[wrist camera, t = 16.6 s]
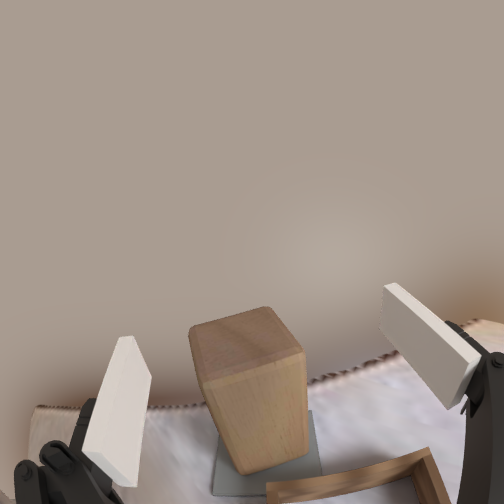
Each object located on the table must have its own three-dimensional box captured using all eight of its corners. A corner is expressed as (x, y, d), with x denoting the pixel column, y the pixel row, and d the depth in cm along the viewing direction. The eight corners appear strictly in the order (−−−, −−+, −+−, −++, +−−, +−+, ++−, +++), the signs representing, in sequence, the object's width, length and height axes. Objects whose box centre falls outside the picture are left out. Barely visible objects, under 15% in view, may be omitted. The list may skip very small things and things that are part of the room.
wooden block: (284, 408, 40) (270, 300, 33) (311, 455, 30) (309, 349, 24) (222, 428, 37) (185, 324, 31) (240, 479, 28) (197, 384, 21)
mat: (213, 495, 26) (212, 494, 26) (222, 420, 39) (221, 418, 39) (323, 488, 25) (324, 487, 25) (311, 412, 39) (311, 410, 38)
